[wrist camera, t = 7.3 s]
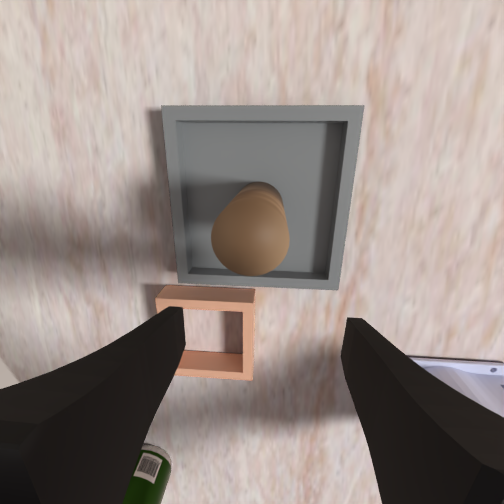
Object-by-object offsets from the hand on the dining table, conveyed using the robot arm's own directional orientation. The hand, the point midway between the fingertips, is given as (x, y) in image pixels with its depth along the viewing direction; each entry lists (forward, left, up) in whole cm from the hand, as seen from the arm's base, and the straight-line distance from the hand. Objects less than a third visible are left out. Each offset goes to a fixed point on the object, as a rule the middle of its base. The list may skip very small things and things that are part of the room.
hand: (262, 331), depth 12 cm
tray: (+1, -4, -10) cm, 11 cm away
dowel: (+1, -4, -9) cm, 10 cm away
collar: (+5, +7, -10) cm, 13 cm away
